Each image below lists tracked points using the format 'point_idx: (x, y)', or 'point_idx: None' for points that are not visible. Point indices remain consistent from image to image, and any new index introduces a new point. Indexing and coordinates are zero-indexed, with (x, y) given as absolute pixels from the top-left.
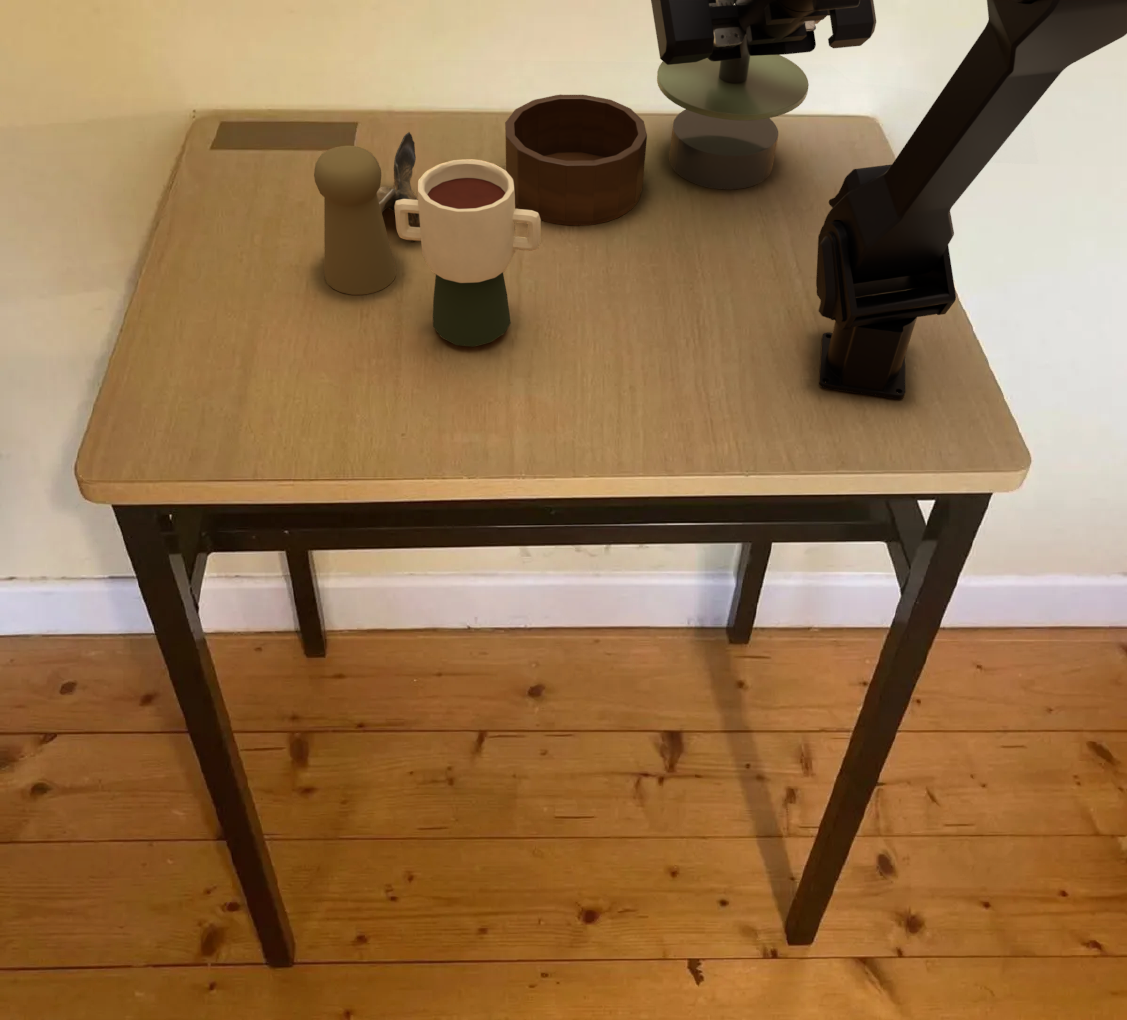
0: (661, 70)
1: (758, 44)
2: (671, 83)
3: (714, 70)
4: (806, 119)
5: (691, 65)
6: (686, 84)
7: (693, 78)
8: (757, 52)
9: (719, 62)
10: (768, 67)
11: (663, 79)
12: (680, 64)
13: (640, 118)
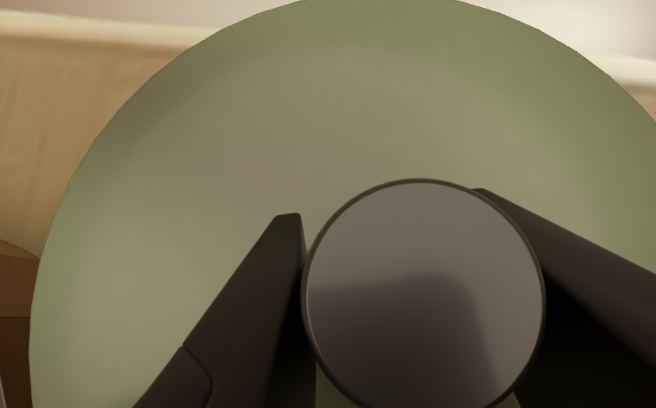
0: (67, 221)
1: (535, 379)
2: (79, 348)
3: (311, 236)
4: (645, 106)
5: (218, 180)
6: (146, 366)
7: (194, 309)
8: (517, 391)
9: (351, 162)
10: (571, 224)
11: (54, 305)
12: (171, 167)
13: (2, 401)
